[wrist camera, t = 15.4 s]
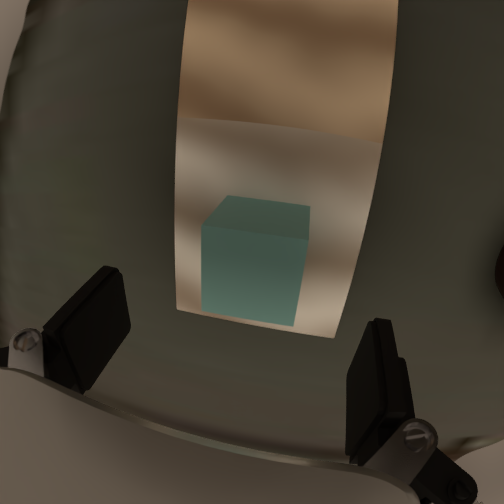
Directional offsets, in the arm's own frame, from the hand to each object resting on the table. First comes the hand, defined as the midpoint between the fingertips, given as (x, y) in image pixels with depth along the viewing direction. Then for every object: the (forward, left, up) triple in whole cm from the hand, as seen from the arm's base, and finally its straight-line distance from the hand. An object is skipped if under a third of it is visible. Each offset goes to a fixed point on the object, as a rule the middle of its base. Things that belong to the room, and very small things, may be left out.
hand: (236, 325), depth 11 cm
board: (-6, 0, -11) cm, 12 cm away
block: (+1, 0, -10) cm, 10 cm away
